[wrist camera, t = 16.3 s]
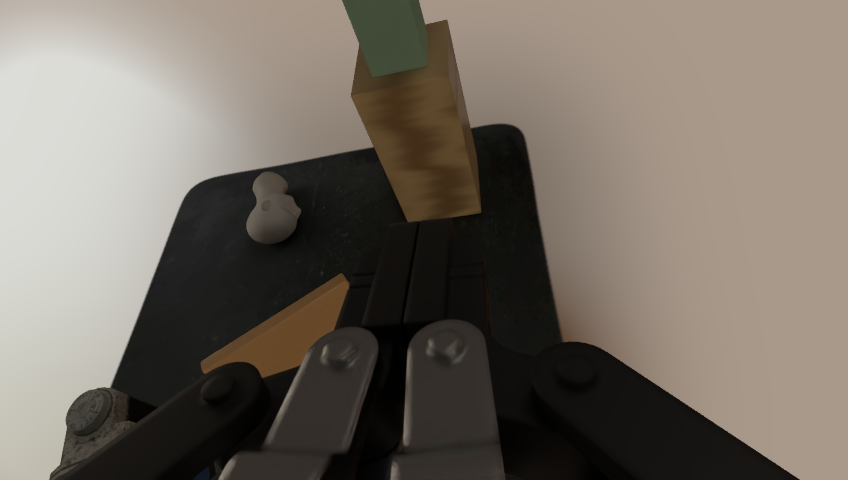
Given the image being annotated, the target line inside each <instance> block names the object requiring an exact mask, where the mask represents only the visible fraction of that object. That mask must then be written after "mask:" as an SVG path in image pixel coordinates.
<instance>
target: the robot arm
mask: <svg viewBox="0 0 848 480" xmlns="http://www.w3.org/2000/svg"><path fill="white" fill-rule="evenodd" d="M491 325H492V324H491V306H490V293H489V286H488V278H487V270H486V262H485V255H484V247H483V246H482V245H481V243H480V242H479V241H478V240H477V238H476V237H475V236H474V235H473V236H464V237H455V234H454V228H453V223H452V219H451V217H448V218H439V219H430V220H421V221H413V222H404V223H395V224H389V226H388V229H387V232H386V236H385V240H384V243H383V245H378V246H370V247H369V248H368V249H367V250H366V251H365V252H364V254H363V255H362V256H361V257H360V258H359V259H358V260H357V263H356V266H355V269H354V272H353V277H352V278H351V281H350V284H349V289H348V290H347V293H346V296H345V299H344V302H343V305H342V308H341V311H340V313H339V316H338V319H337V322H336V325H335V328H334V331H331V332H329V333H327V334H325V335H324V336H322V337H321V338H319V339H318V340H317V341H316V342H315V343H314V344H313V345H312V346H311V347H310V348H309V350H308V352H307V353H306V355H305V357H304V360H303V362H302V364H301V365H299V366H297V367H294V368H291V369H288V370H285V371H282V372H279V373H276V374H273V375H270V376H267V377H264V378H262V376H261V374H260V372H259V370H258V369H257V368H256V367H255V366H254V365H252V364H250V363H247V362H232V363H228V364H224V365H222V366H219V367H217V368H215V369H213V370H211V371H210V372H208V373H206V374H205V375H203V376H202V377H201V378H199V379H198V380H196V381H195V382H194V383H192V384H191V385H189V386H188V387H187V388H185V389H184V390H182V391H181V392H180V393H178V394H177V395H175V396H174V397H172V398H171V399H170V400H168V401H167V402H165V403H164V404H163V405H161V406H160V407H158V408H157V409H156V410H154V411H153V412H151V413H150V414H148V415H147V416H146V417H144V418H143V419H141V420H140V421H139V422H137V423H136V424H134V425H133V426H132V427H130V428H129V429H127V430H126V431H124V432H123V433H122V434H120V435H119V436H117V437H116V438H115V439H113V440H112V441H110V442H109V443H108V444H106V445H105V446H103V447H102V448H101V449H99V450H98V451H96V452H95V453H93V454H92V455H91V456H89V457H88V458H86V459H85V460H84V461H82V462H81V463H79V464H78V465H77V466H75V467H74V468H72V469H71V470H69V471H68V472H67V473H65V474H64V475H62V476H61V477H60V478H58V479H57V480H192V479H194V478H195V477H196V476H197V475H198V474H200V473H201V472H202V471H203V470H204V469H206V468H207V467H208V466H209V465H210V464H212V463H213V462H215V463H216V465H217V466H218V467H219V469H220V470H221V471H220V472H219V473H218V474H216V475H215V476H214V477H213V478H212V479H211V480H506V479H505V473H508V474H512V475H515V476H518V477H521V478H524V479H527V480H799V479H798V478H796V477H795V476H793V475H792V474H790V473H789V472H787V471H786V470H784V469H783V468H781V467H780V466H778V465H777V464H775V463H774V462H772V461H771V460H769V459H768V458H766V457H765V456H763V455H762V454H760V453H759V452H757V451H756V450H754V449H753V448H751V447H750V446H748V445H747V444H745V443H744V442H742V441H741V440H739V439H737V438H736V437H734V436H733V435H731V434H730V433H728V432H727V431H725V430H724V429H722V428H721V427H719V426H717V425H716V424H715V423H713V422H712V421H710V420H709V419H707V418H706V417H704V416H703V415H701V414H700V413H698V412H697V411H695V410H694V409H692V408H691V407H689V406H688V405H686V404H685V403H683V402H682V401H680V400H679V399H677V398H676V397H674V396H673V395H671V394H669V393H668V392H666V391H665V390H663V389H662V388H660V387H659V386H657V385H656V384H654V383H653V382H651V381H650V380H648V379H647V378H645V377H644V376H642V375H641V374H639V373H638V372H636V371H635V370H633V369H632V368H630V367H629V366H627V365H626V364H624V363H623V362H621V361H620V360H618V359H617V358H615V357H614V356H612V355H611V354H609V353H608V352H606V351H604V350H602V349H601V348H598V347H596V346H594V345H590V344H587V343H581V342H563V343H559V344H555V345H552V346H550V347H548V348H546V349H545V350H543V351H542V352H541V353H540V354H538V356H537V357H534V356H529V355H525V354H520V353H516V352H513V351H511V350H508V349H507V348H505V347H503V346H501V345H500V344H499V343H498V342H496V340H495V339H494V338H493V337H492V326H491Z"/></svg>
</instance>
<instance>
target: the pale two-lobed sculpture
mask: <svg viewBox="0 0 848 480" xmlns="http://www.w3.org/2000/svg"><path fill="white" fill-rule="evenodd" d="M287 187H288V185H287V182H286V181H285V180H284V179H283V178H282V177H281V176H280V175H278V174H276V173H273V172H264V173H262V174H261V175H260V176H259V177H257V178H256V180H255V181H254V184H253V192H254V194H255V196H256V198H257V204H256V207H255V208H254V209H253V211H252V212H251V214H250V216H249V218H248V220H247V231H248V233H249V235H250V237H251V238H252V239H254V240H255V241H257V242H259V243H263V244H274V243H278V242H281V241H283V240H285V239H286V238H288V237H289V236H290V235H291V234H292V233H293V231H294V230H295V228H296V225H297V219H298V218H299V216H300V214H301V209H300V208H299V207H297V205H296V204H295V202H294V198H293V197H291V196H289V195H285V192H286V191H287Z"/></svg>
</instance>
